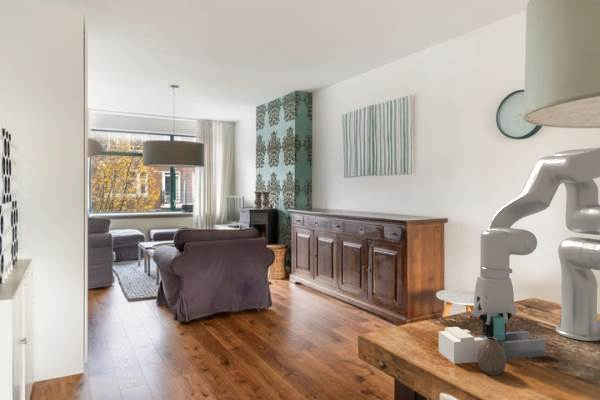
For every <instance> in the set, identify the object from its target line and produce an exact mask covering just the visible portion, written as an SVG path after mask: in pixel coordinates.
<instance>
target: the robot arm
mask: <svg viewBox="0 0 600 400" xmlns="http://www.w3.org/2000/svg"><path fill="white" fill-rule="evenodd" d="M598 178H600V147H591V148H590V147H589V148H579V149H568V150H562V151H558V152H555V153H554V154H552V155H549V156H544V157H541V158H540V159H538V160H537V161H536V162H535V164H533V167H532V170H531V171H530V173H529V175H528V177H527V179H526V181H525V183H524V185H523V187H522V189H521V191H520V193H519V194H518V195H517V196H516V197H515V198H513V199H512V200H510V201H509V202H508V203H507V204H505V205H504V206H502V207H501V208H500V209H499V210H497V212H496V213H495V214H494V216H493V217H492V219H491V221H490V223H489V224H488V227H487V229H486V230H483V231H481V233H480V264H479V266H480V270H479V271H480V276H477V278H476V282H475V283H476V284H475V288H474V296H473V309H472V311H471V314H472V315H473V316H475V317H477V318H478V319H479V320H480V322H482V333H483V337H484V336H486V337H492V325H491V324H490V322H491V315H492V314H499V315H501V316H503V317H505V337H506V332H507V324H508V323H509V320H510V319H511V318H512V316H513V315H515V314H516V313H518V311H517V308H516V306H515V295H514V287H513V283H512V278H510V274H512V273H513V270H512V268H510V257H511V256H512V255H513V256H528V255H531V254H532V253H534V251H536V249H537V247H538V240H537V237H536V235H535V234H534V233H533V232H531V231H530V230H527V229H523V228H512V226H513V225H514V224H515V223H517V222H518V221H520V220H522V219H524V218H526V217H530V216H531V215H534V214H538V213H540V212H543V211H545V210H547V209H548V208H549V207H550V205H551V204H552V201H553V199H554V196H556V195H555V194H556V193H557V190H558V189H559V186H560V185H561V184H563V185H564V187H565V191H566V194H565V195H566V198H565V199H566V201H565V227H566V228H567V230H569V231H570V232H572V233H575V234H585V235H595V236H596V235H597V236H600V203H599V187H598V185H597V183H596V182H595V179H598ZM557 251H558V252H557V253H558V258H559V262H560V270H561V302H560V303H561V308H560V310H561V319H560V320H561V321H560V323H561V324H558V325H556V326H555V332H556V333H558V334H559V335H560V336H562V337H565V338H569V339H573V340H579V341H583V342H584V341H585V342H598V341H600V321H598V281H597V278H596V276H595V273H594V272H593V270H594V271H595V270H596V271H600V239H596V238H591V237H589V238H588V237H579V236H573V237H572V236H571V237H567V238H564V239H563V240H562V241H561V242H560V243H559V246H558V249H557ZM510 255H511V256H510ZM480 311H481V313H480Z"/></svg>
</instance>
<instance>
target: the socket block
mask: <svg viewBox="0 0 600 400" xmlns="http://www.w3.org/2000/svg"><path fill="white" fill-rule="evenodd" d="M471 333H472V332H471V331H470V330H469V329H462V328H460V327H458V326H449V327H444V330H440V331H438V353H439V354H441V355H442V356H443V357H445V358H446V359H447V360H448V361H449V362H450V363H452V364H453V365H455V364H457V365H458V364H459V365H460V364H468V363H470V364H471V363H478V360H477V352H478V349H479V347H480V346H481V345H482V344H483V343H484V340H483V339H482V338H483V337H481V336H480V337H475V336H473V335H472V334H471Z"/></svg>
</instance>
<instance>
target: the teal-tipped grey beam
mask: <svg viewBox="0 0 600 400" xmlns="http://www.w3.org/2000/svg"><path fill="white" fill-rule="evenodd" d="M490 324H491V325H492V337H494V338H496V339H497V341H498V342H501V341H505V317H503V316H501V315H499V314H492V315H491V322H490ZM481 338H482V339H483V340H484V342H485V340H486V338H487V337H486V336H484V335H483V337H481Z"/></svg>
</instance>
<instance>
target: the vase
mask: <svg viewBox="0 0 600 400" xmlns="http://www.w3.org/2000/svg"><path fill="white" fill-rule="evenodd" d="M477 360H478V362H477V364H478V366H479V368H480V369H481V370H482V371H483V372H484V373H485V374H487V375H489V376H490V375H491V376H499V375H500V374H502V373H503V372H504V371H505V369H506V366H507V359H506V354H505V352H504V350H503V348H502V347H501V346H500V344H499V343H498V341H497V339H496V338H494V337H487V338H486V340H485V342H484V343H483V344H482V345H481V346H480V347H479V349H478V352H477Z"/></svg>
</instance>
